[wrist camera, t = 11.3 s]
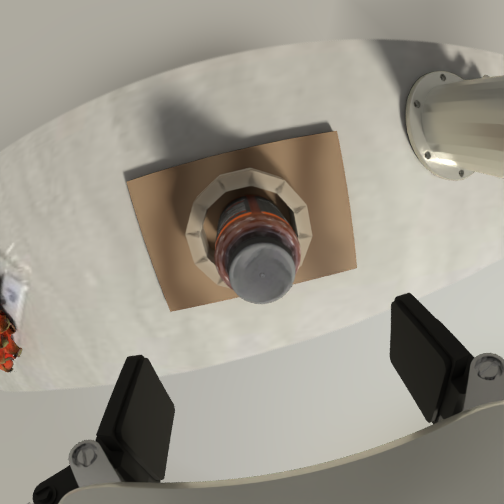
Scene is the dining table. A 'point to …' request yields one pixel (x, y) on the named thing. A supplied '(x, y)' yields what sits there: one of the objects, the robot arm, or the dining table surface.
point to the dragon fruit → (7, 344)
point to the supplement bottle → (256, 249)
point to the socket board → (235, 185)
